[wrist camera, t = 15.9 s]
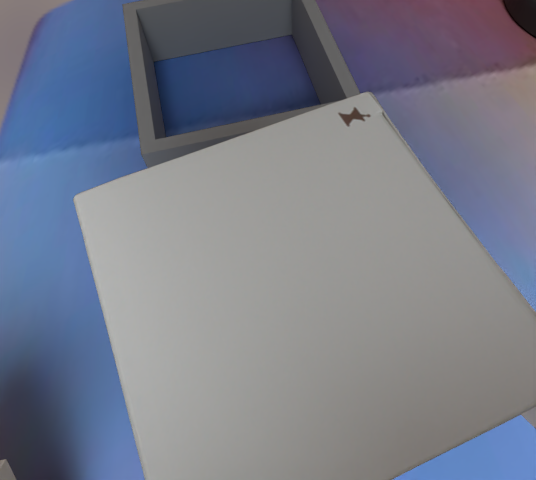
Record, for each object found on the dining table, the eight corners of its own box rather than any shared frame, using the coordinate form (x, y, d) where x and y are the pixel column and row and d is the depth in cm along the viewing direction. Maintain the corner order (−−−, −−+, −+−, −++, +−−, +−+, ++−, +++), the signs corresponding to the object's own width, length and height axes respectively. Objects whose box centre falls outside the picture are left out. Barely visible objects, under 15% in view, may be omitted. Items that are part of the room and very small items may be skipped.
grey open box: (285, -6, 42) (285, -61, 37) (379, 208, 30) (394, 164, 25) (136, 23, 41) (118, -31, 36) (170, 257, 29) (149, 220, 24)
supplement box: (190, 341, 26) (59, 182, 11) (323, 284, 27) (367, 74, 12) (247, 509, 22) (161, 618, 7) (402, 432, 23) (610, 382, 8)
